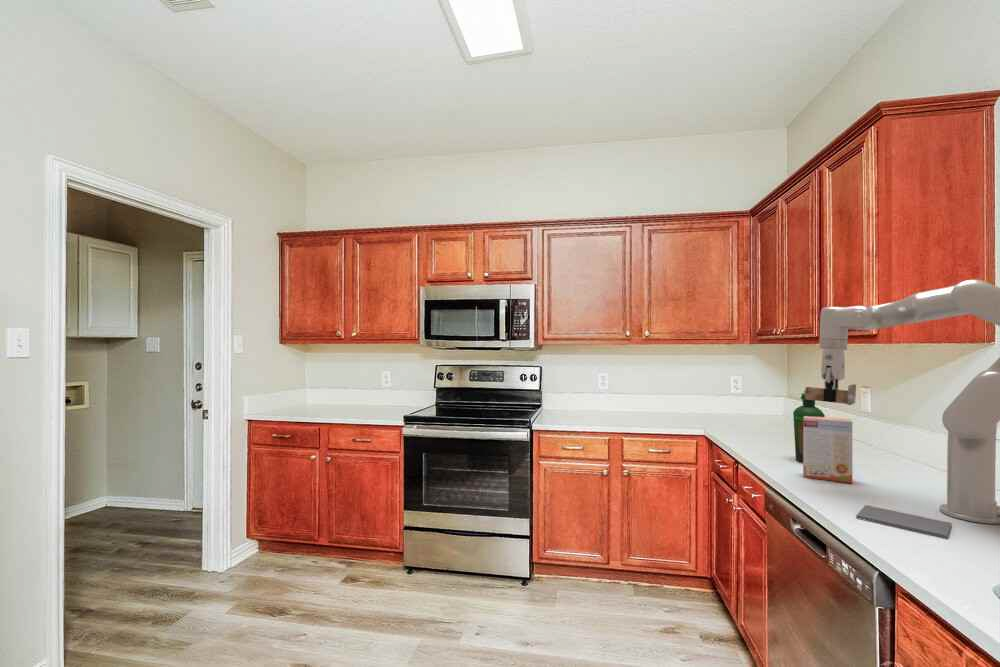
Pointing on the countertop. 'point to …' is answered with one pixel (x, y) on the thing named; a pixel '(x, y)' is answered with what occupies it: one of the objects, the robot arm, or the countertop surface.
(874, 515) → the mat
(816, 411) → the bottle
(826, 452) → the cracker box
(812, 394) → the tan boxy piece
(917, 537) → the countertop surface
